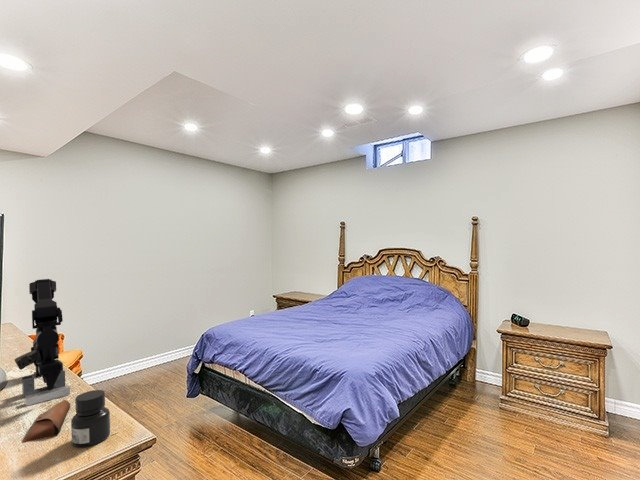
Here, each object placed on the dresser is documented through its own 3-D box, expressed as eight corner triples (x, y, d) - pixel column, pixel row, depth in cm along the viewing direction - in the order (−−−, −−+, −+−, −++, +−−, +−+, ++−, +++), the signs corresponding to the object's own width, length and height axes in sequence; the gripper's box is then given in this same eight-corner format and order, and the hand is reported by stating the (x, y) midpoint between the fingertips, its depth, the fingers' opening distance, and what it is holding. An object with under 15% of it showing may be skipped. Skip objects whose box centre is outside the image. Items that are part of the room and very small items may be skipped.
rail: (25, 404, 119) (25, 396, 119) (68, 393, 127) (68, 385, 127) (26, 407, 117) (26, 398, 117) (69, 395, 125) (69, 387, 125)
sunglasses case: (37, 415, 110) (50, 394, 112) (61, 421, 113) (73, 401, 115) (20, 443, 94) (36, 419, 96) (49, 450, 97) (63, 426, 99)
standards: (22, 394, 127) (22, 376, 127) (63, 383, 135) (62, 367, 135) (23, 397, 123) (23, 380, 123) (65, 387, 132) (64, 370, 132)
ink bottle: (67, 439, 96) (66, 395, 96) (103, 426, 103) (102, 385, 103) (77, 453, 90) (76, 406, 90) (115, 438, 96) (114, 394, 96)
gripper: (14, 341, 123) (15, 386, 123) (18, 352, 110) (20, 402, 110) (53, 335, 131) (54, 376, 131) (62, 344, 117) (63, 391, 118)
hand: (48, 386), depth 122 cm, fingers open, 9 cm apart
